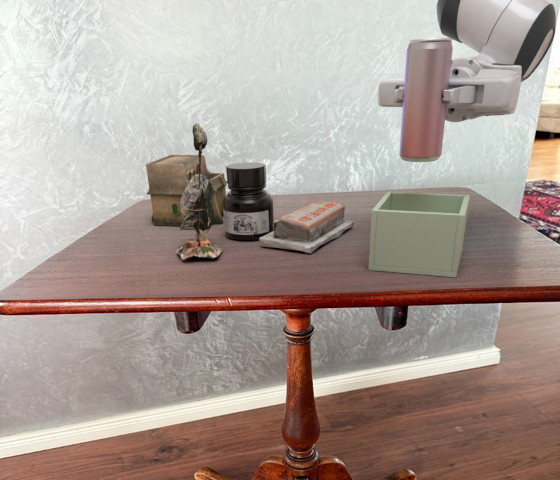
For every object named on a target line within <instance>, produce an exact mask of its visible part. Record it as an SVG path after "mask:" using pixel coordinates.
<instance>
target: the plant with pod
mask: <svg viewBox="0 0 560 480" xmlns="http://www.w3.org/2000/svg"><path fill="white" fill-rule="evenodd" d="M191 131H192V137H193V138H192V139H193V147H194V150H195V151H196V152H197V151H198V152H197V155H198V157H199V174H196V175H195V176H193V177H192V179H191V180H190V181H189V182H188V185H187V187H186V189H185V191H184V192H183V195H182V197H181V202H180V204H181V213H182V216H183V218H184V221H185V222H186V223H187V224H188V225H189V226H191V227H193V228H195V229H196V230H195V239H194V238H190V239H186V240H185V241H184V243H183V245H182V246H181V247H180V246H178V248H177V250H175V253H176V254H178V255H179V256H180V258H181V260H187V259H190V258H192V257H196V258H197V257H198V258H202V259H204V258H205V259H207V258H209V259H213V260H214V259H216V258H218V257H219V256H220V255H221V253H222V252H223V251H224V249H223V248H222V247H221V246H219V245H218V244H216V243H211V241H210V240H208V239H207V237H208V234H209V232H210V230H211V228H212V226H213V225H212V223H213V218H214V214H213V212H214V211H213V207H212V189H211V183H210V181H209V179H208V177H207V176H205V175H203V174H201V173H200V172H201V168H200V167H201V155H202V154H203V150H204V149H206V147H207V144H208V136H207V133H206V131H205V130H204V128H203V127H202V126H201V125H200V123H199V122H196V123H195V124H193V125H192V130H191ZM208 174H209V173H208Z"/></svg>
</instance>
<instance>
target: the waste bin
mask: <svg viewBox="0 0 560 480" xmlns="http://www.w3.org/2000/svg"><path fill="white" fill-rule="evenodd" d="M470 198H471V194H452V193H451V194H450V193H429V192H428V193H426V192H406V191H405V192H404V191H403V192H402V191H387V192H386V193H385V194H384V195H383V196H382V198H381V199H380V200H379V201H378V203H376V205H375V206H374V207H372V209H371V212H370V213H371V215H370V231H369V250H368V251H369V252H368V255H369V256H368V271H375V272H386V273H398V274H409V275H421V276H431V277H432V276H433V277H443V278H444V277H445V278H454V279H456V278H457V277H458V276H457V275H458V271H459V267H460V263H461V258H462V253H463V249H464V241H465V234H466V227H467V221H468V220H467V219H468V215H469V214H468V212H469V205H470Z"/></svg>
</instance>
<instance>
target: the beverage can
mask: <svg viewBox="0 0 560 480" xmlns="http://www.w3.org/2000/svg"><path fill="white" fill-rule="evenodd" d="M452 41H453V39H452V38H449V37H437V38H435V37H434V38H418V39H417V38H416V39H409V40H408V45H407V48H406V52H405V53H406V55H405V69H404V79H405V81H404V96H403V107H402V112H401V113H402V114H401V125H400V141H399V157H400V158H401V160H402V161H404V162H410V163H429V162H430V163H431V162H436V161H438V160H439V159H440V157H441V156H442V154H443V153H442V152H443V143H444V133H445V124H446V120H445V116H446V107H447V104H445V103H443V97H444V95H443V92H444V89H448V88H449V78H450V69H451V60H453V59H452V58H453V49H454V48H453V44H452V43H453V42H452Z"/></svg>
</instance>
